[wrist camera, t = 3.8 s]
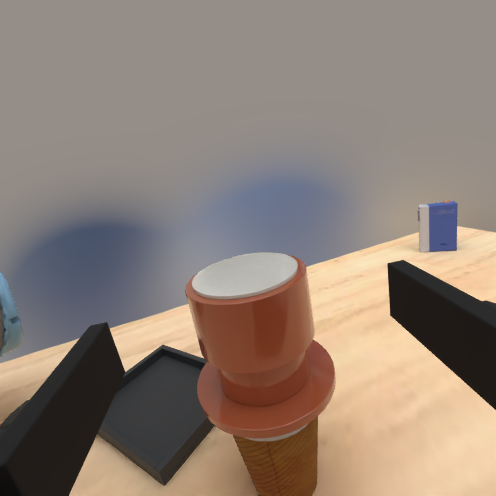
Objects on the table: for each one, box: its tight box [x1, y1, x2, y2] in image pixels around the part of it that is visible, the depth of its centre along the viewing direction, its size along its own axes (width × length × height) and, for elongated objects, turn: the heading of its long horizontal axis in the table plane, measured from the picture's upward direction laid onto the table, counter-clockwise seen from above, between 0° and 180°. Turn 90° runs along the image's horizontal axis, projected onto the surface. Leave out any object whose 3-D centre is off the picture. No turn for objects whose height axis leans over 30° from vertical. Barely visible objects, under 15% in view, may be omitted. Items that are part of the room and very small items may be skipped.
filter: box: [185, 252, 336, 439], centre depth 25 cm, size 13×12×10 cm
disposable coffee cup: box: [233, 416, 318, 496], centre depth 28 cm, size 10×10×12 cm
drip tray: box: [97, 345, 214, 486], centre depth 42 cm, size 19×16×2 cm
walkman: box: [418, 201, 457, 252], centre depth 74 cm, size 8×3×12 cm, turn 71°
